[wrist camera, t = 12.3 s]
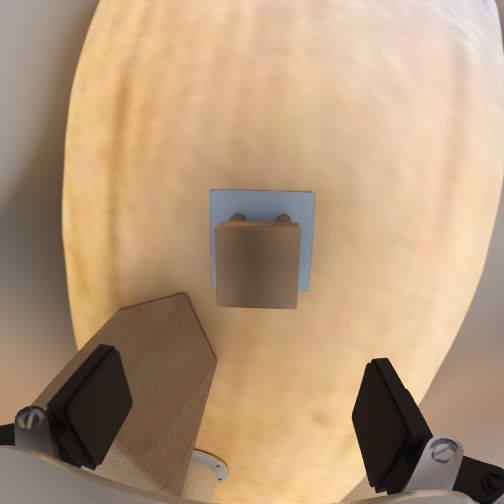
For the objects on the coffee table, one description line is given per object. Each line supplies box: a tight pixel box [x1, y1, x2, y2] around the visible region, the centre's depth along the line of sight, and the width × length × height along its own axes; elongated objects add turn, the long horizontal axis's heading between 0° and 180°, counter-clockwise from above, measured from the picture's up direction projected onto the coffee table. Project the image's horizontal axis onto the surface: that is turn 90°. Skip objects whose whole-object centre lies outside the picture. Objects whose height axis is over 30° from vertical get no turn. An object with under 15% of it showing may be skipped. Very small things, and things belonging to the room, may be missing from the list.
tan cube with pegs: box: [215, 213, 301, 309], centre depth 25 cm, size 6×6×8 cm
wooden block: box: [31, 294, 217, 498], centre depth 23 cm, size 10×10×20 cm
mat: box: [210, 190, 315, 291], centre depth 29 cm, size 10×10×1 cm
